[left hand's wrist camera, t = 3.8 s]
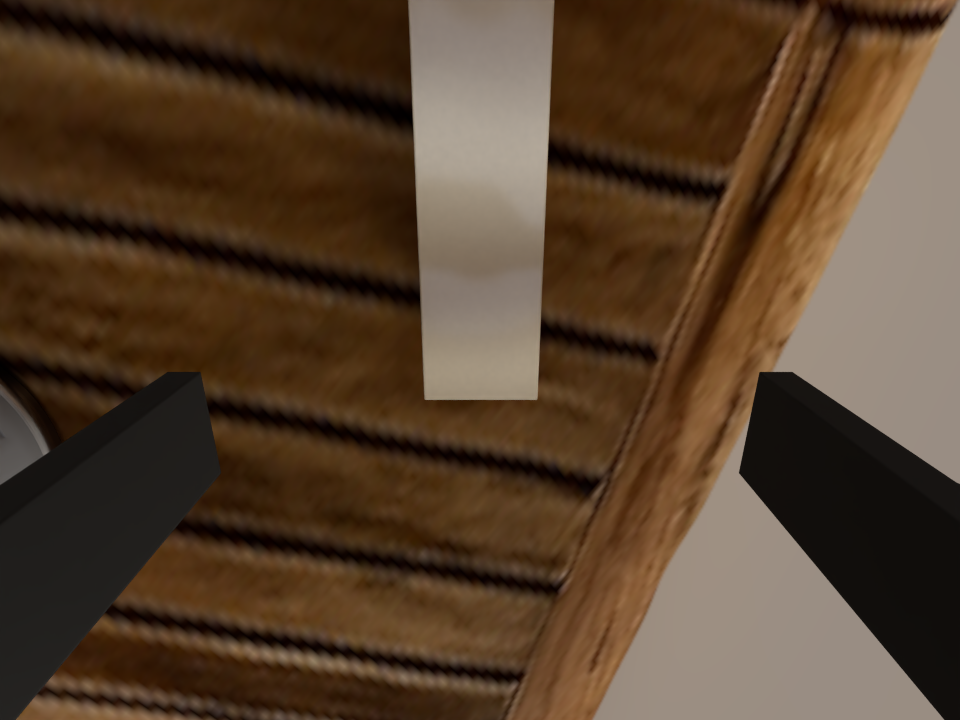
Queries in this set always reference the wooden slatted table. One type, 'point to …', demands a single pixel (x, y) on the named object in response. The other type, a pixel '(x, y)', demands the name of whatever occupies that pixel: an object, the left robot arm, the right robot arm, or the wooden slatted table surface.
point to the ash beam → (481, 191)
